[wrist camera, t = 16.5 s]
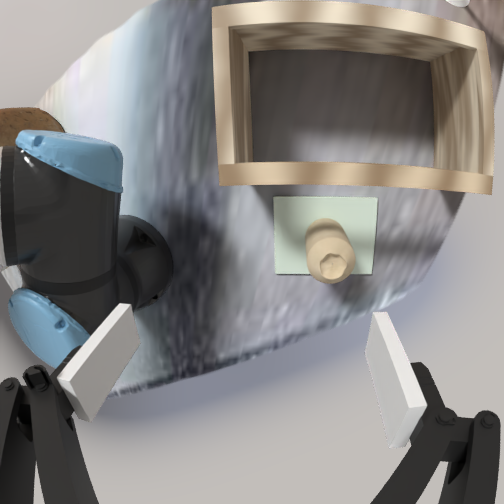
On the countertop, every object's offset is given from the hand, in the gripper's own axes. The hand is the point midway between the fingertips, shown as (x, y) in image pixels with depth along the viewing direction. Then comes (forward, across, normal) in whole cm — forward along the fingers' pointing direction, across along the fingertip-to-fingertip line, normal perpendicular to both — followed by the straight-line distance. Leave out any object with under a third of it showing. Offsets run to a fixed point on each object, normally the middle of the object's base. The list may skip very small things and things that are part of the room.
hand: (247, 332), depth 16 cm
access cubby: (+28, +10, +14) cm, 33 cm away
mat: (+28, +7, -4) cm, 29 cm away
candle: (+27, +7, -4) cm, 28 cm away
